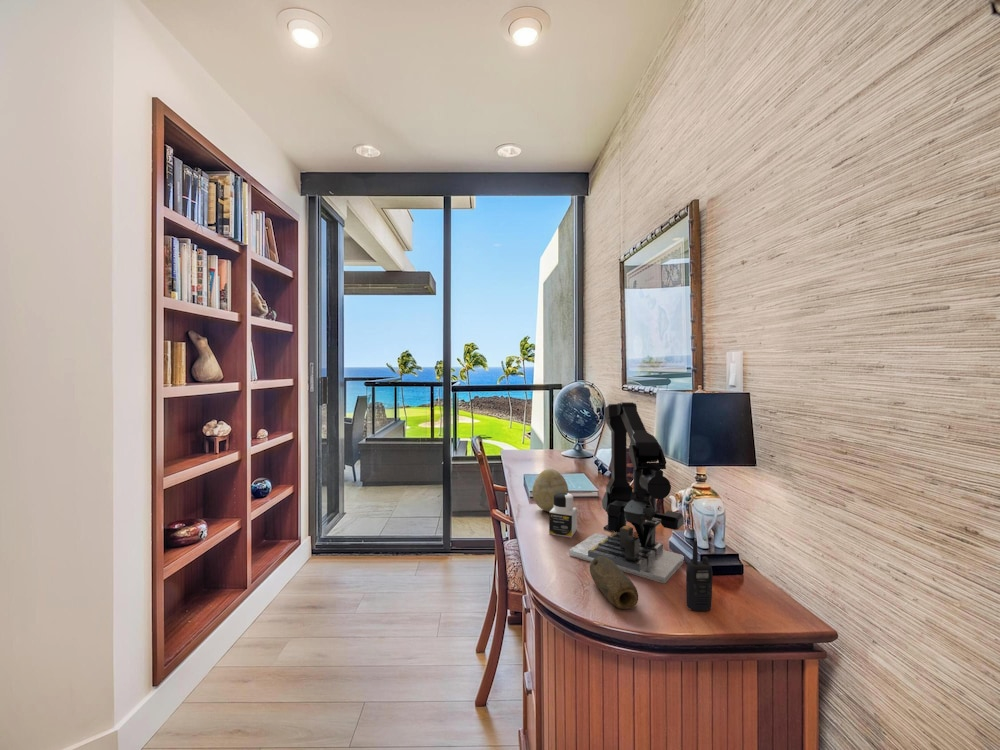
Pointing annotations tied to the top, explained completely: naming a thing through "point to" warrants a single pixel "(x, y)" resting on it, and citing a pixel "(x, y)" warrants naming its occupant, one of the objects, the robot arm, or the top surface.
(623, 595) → the stone weight
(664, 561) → the breaker panel
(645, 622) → the top surface
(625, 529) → the block
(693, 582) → the two-way radio
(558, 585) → the top surface
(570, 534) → the medicine bottle
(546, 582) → the top surface
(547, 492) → the fossilized egg
